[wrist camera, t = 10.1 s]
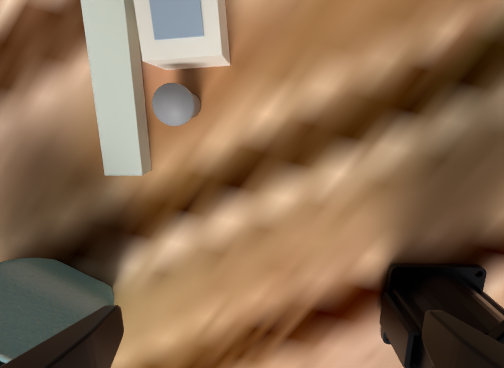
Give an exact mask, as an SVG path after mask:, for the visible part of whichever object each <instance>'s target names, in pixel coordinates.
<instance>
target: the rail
mask: <svg viewBox="0 0 504 368" xmlns="http://www.w3.org/2000/svg"><path fill="white" fill-rule="evenodd" d="M81 6H82V13H83V21H84V28H85V35H86V43H87V50H88V57H89V64H90V72H91V79H92V86H93V93H94V101H95V108H96V115H97V122H98V130H99V137H100V144H101V152H102V159H103V166H104V173H105V176H142V175H144V174H146V173H148V172H149V171H151V170H152V169H151V159H150V148H149V138H148V128H147V117H146V107H145V96H144V86H143V76H142V65H141V55H140V44H139V34H138V27H137V20H136V13H135V7H134V0H81ZM152 106H153V111H154V113H155V115H156V116H157V118H158V119H159V120H160V121H161V122H163V123H164V124H167V125H170V126H179V125H182V124H185V123H187V122H188V121H189V120H190V119H191V118H192V117H195V116H196V115H197V114H198V113H199V112H200V109H201V102H200V100H199V98H198V97H197V96H196V95H195V94H193V93H191V92H190V91H189V90H188V89H187V88H186V87H184V86H182V85H180V84H176V83H167V84H164V85H162V86H160V87H159V88H158V89H157V90H156V92H155V93H154V96H153V100H152Z"/></svg>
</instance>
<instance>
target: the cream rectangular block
mask: <svg viewBox="0 0 504 368" xmlns="http://www.w3.org/2000/svg"><path fill="white" fill-rule="evenodd" d="M134 7H135V13H136V20H137V27H138V33H139V40H140V47H141V53H142V60H143V62H146V63H149V64H151V65H154V66H157V67H159V68H162V69H165V70H177V69H190V68H203V67H215V66H228V65H230V55H229V42H228V30H227V18H226V5H225V0H134Z"/></svg>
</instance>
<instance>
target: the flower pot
mask: <svg viewBox="0 0 504 368" xmlns="http://www.w3.org/2000/svg"><path fill="white" fill-rule="evenodd" d="M106 305H114V293H113V290H112V288H111V287H110V286H109V285H107V284H105V283H103V282H101V281H99V280H97V279H95V278H93V277H90V276H88V275H86V274H84V273H82V272H80V271H78V270H76V269H74V268H72V267H70V266H68V265H66V264H64V263H62V262H60V261H57V260H54V259H45V258H21V259H13V260H8V261H3V262H0V366H2V365H4V364H6V363H7V362H9V361H11V360H12V359H14V358H16V357H18V356H19V355H21V354H23V353H24V352H26V351H28V350H30V349H31V348H33V347H35V346H36V345H38V344H40V343H42V342H43V341H45V340H47V339H48V338H50V337H52V336H54V335H55V334H57V333H59V332H60V331H62V330H64V329H66V328H67V327H69V326H71V325H72V324H74V323H76V322H78V321H79V320H81V319H83V318H84V317H86V316H88V315H90V314H91V313H93V312H95V311H96V310H98V309H100V308H102V307H103V306H106Z"/></svg>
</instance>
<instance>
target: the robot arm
mask: <svg viewBox="0 0 504 368" xmlns="http://www.w3.org/2000/svg"><path fill="white" fill-rule="evenodd" d="M396 270H399V272H398V273H395V271H396ZM477 271H479V272H478V273H477V274H475V273H476V272H477ZM485 278H486V270H485V269H484V268H482V267H481V266H479V265H459V264H393V265H392V266H391V267H390V268H389V271H388V280H387V288H386V292H385V293H384V294H383V298H382V307H381V315H380V324H381V326H382V329H381V338H382V339H383V341H384V343H386V344H391V345H392V347H393V349H394V350H395V352H396V354H397V356H398V358H399V360H400V362H401V363H402V365H403V367H404V368H504V308H503V307H501V306H500V305H499V304H498V303H497V302H495V301H494V300H493V299H492V298H491V297H489V296H488V295H487V294H486V293H485V292H483V287H484V283H485ZM123 332H124V327H123V320H122V312H121V308H120V307H119V306H118V305H106V306H103V307H102V308H100V309H98V310H96V311H95V312H93V313H91V314H90V315H88V316H86V317H84V318H83V319H81V320H79V321H78V322H76V323H74V324H72V325H71V326H69V327H67V328H66V329H64V330H62V331H60V332H59V333H57V334H55V335H54V336H52V337H50V338H48V339H47V340H45V341H43V342H42V343H40V344H38V345H36V346H35V347H33V348H31V349H30V350H28V351H26V352H24V353H23V354H21V355H19V356H18V357H16V358H14V359H12V360H11V361H9V362H7V363H6V364H4V365H2V366H0V368H111V365H112V362H113V360H114V357H115V355H116V352H117V350H118V347H119V345H120V342H121V340H122V337H123ZM387 337H388V338H387Z"/></svg>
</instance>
